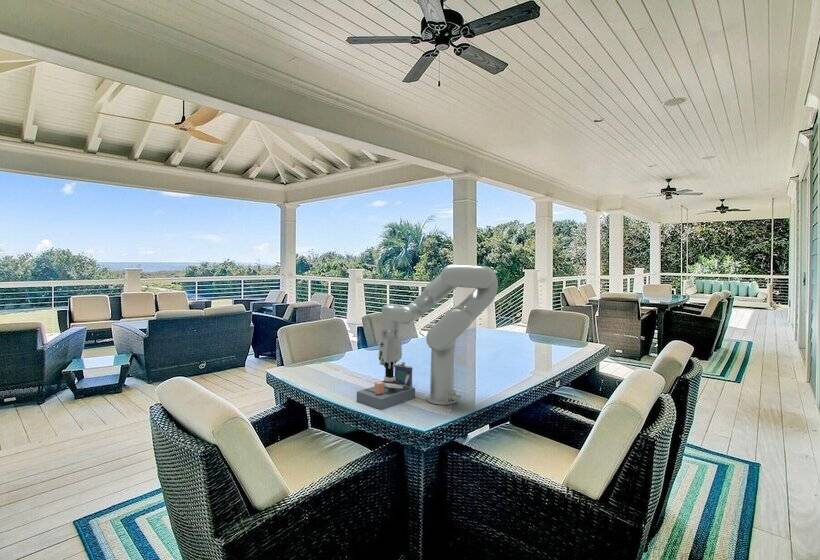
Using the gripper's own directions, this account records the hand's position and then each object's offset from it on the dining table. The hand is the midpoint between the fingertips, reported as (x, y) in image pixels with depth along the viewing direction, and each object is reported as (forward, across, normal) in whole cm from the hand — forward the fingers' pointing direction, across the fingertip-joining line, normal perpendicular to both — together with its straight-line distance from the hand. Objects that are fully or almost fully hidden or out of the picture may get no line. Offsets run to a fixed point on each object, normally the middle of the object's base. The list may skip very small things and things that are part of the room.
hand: (389, 376), depth 178 cm
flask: (+8, +15, +5) cm, 17 cm away
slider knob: (+4, -11, -6) cm, 13 cm away
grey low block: (+8, -5, -4) cm, 10 cm away
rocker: (+1, -5, -7) cm, 9 cm away
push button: (+3, 0, 0) cm, 3 cm away
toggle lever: (+3, +1, -8) cm, 9 cm away
